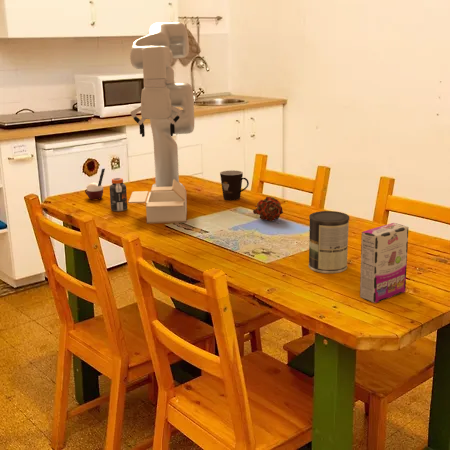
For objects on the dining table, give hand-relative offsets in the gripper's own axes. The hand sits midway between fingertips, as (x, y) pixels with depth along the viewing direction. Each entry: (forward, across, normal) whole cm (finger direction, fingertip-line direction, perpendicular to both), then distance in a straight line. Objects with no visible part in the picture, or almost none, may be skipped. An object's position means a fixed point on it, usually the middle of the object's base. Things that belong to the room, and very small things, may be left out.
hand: (157, 136), depth 216 cm
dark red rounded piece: (+28, -36, +10) cm, 47 cm away
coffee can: (+30, -47, +57) cm, 80 cm away
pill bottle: (+27, +16, -9) cm, 33 cm away
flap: (+20, -9, +3) cm, 22 cm away
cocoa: (+26, +27, -26) cm, 46 cm away
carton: (+27, 0, +3) cm, 28 cm away
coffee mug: (+27, -26, -19) cm, 42 cm away
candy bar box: (+31, -56, +77) cm, 100 cm away
